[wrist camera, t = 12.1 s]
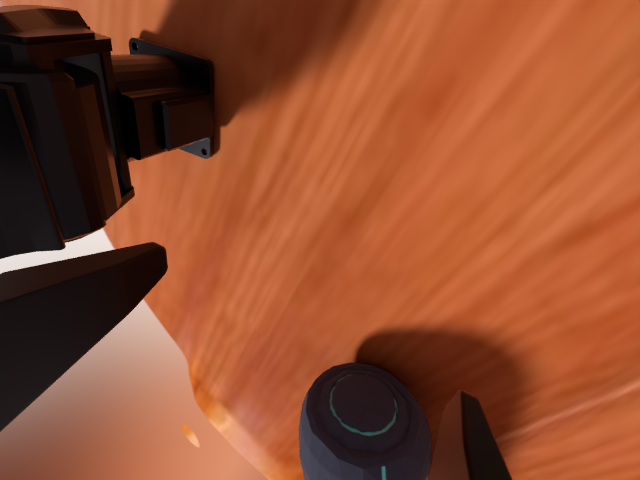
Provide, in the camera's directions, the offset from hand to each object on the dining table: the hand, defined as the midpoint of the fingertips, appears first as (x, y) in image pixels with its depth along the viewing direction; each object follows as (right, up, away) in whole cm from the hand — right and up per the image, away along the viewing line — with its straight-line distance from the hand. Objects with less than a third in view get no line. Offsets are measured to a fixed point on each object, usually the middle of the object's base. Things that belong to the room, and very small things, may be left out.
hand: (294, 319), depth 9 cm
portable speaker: (+7, -18, +24) cm, 30 cm away
